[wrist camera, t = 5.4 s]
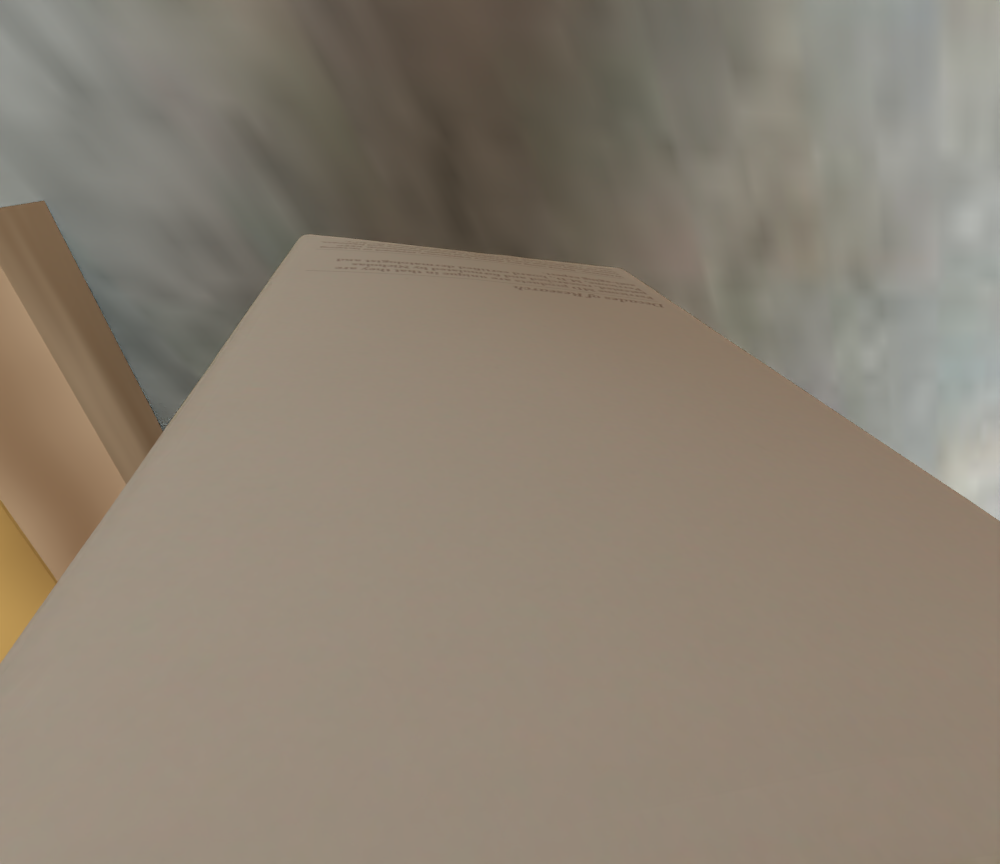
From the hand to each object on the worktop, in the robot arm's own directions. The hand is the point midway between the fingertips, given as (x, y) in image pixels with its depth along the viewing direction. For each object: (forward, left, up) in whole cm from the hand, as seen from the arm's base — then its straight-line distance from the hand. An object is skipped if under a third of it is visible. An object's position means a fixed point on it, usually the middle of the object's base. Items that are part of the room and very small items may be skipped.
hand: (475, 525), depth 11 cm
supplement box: (0, -1, -5) cm, 5 cm away
